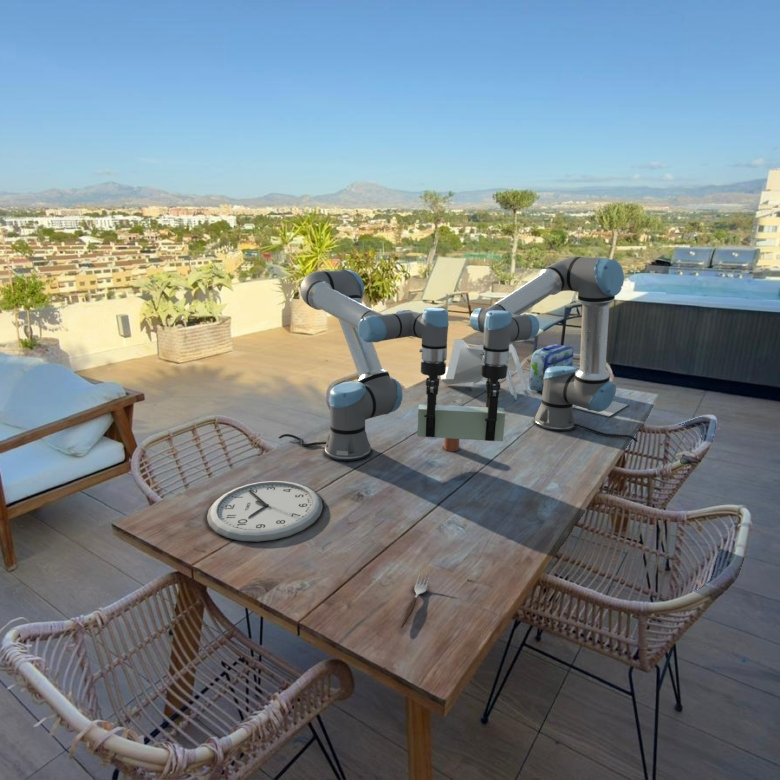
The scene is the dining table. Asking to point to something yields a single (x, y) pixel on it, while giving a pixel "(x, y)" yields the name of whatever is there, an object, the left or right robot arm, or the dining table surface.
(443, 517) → the dining table surface
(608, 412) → the invitation card
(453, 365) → the white plastic object
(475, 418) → the beam
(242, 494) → the wall clock
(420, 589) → the fork
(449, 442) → the orange cylinder puck
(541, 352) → the lunch box
